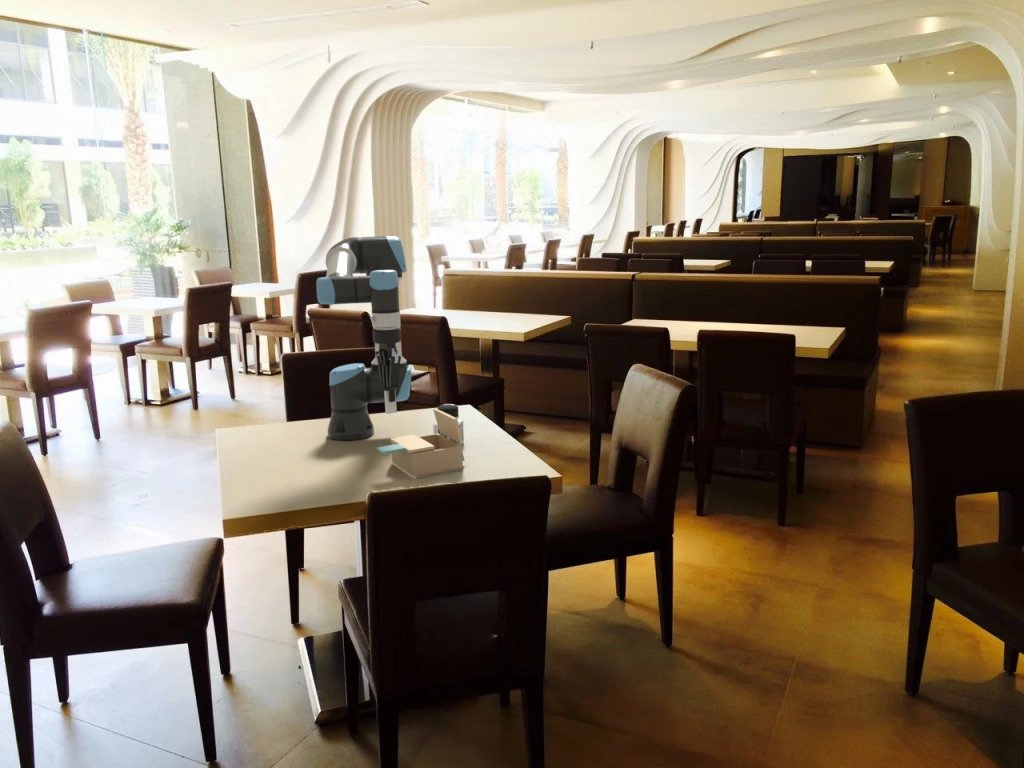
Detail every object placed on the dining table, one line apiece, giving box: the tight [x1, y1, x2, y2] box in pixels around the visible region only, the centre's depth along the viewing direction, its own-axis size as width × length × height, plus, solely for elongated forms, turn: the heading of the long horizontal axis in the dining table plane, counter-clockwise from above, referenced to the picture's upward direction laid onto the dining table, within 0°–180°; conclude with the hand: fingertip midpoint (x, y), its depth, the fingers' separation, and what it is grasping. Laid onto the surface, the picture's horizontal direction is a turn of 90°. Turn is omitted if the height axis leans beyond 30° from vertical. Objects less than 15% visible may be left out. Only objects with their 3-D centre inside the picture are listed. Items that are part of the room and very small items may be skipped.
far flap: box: [432, 408, 465, 462], centre depth 239 cm, size 14×14×1 cm
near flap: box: [376, 434, 435, 456], centre depth 232 cm, size 14×14×1 cm
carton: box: [390, 433, 464, 480], centre depth 236 cm, size 17×15×7 cm
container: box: [432, 403, 465, 446], centre depth 257 cm, size 8×8×13 cm
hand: (391, 412), depth 226 cm, fingers closed
